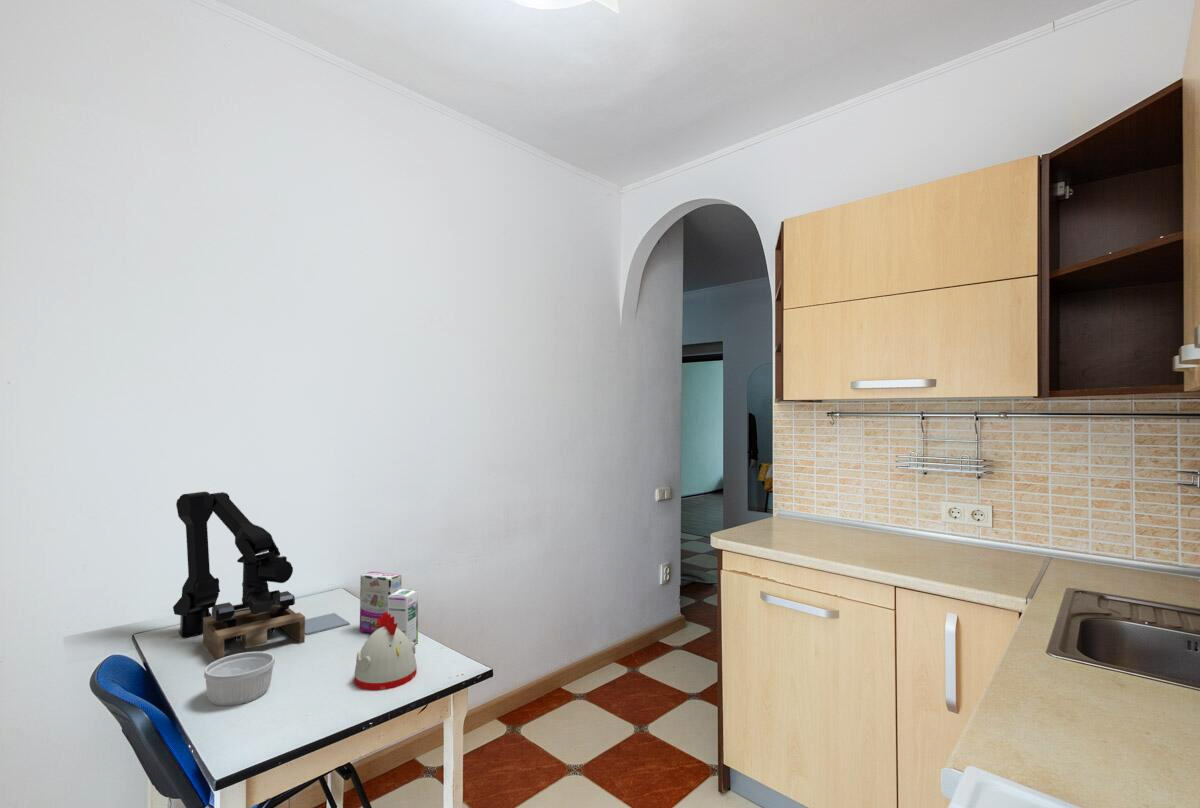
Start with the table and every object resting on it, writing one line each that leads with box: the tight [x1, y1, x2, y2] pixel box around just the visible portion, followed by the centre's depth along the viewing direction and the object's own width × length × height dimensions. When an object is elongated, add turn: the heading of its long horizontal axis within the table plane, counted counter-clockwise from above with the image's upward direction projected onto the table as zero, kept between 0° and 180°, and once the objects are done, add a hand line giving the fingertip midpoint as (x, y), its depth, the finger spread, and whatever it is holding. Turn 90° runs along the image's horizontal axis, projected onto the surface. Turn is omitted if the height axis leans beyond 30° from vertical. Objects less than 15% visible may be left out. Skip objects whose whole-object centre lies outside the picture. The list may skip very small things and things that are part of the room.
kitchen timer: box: [353, 612, 418, 691], centre depth 136 cm, size 14×14×15 cm
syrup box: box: [388, 588, 419, 645], centre depth 153 cm, size 6×6×14 cm
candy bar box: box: [359, 571, 402, 635], centre depth 163 cm, size 11×5×16 cm, turn 68°
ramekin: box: [203, 651, 275, 707], centre depth 126 cm, size 13×13×7 cm
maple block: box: [240, 620, 268, 649], centre depth 155 cm, size 5×5×5 cm
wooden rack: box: [202, 606, 306, 661], centre depth 155 cm, size 20×18×7 cm
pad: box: [305, 612, 350, 636], centre depth 169 cm, size 12×12×1 cm
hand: (253, 636), depth 155 cm, fingers open, 8 cm apart
